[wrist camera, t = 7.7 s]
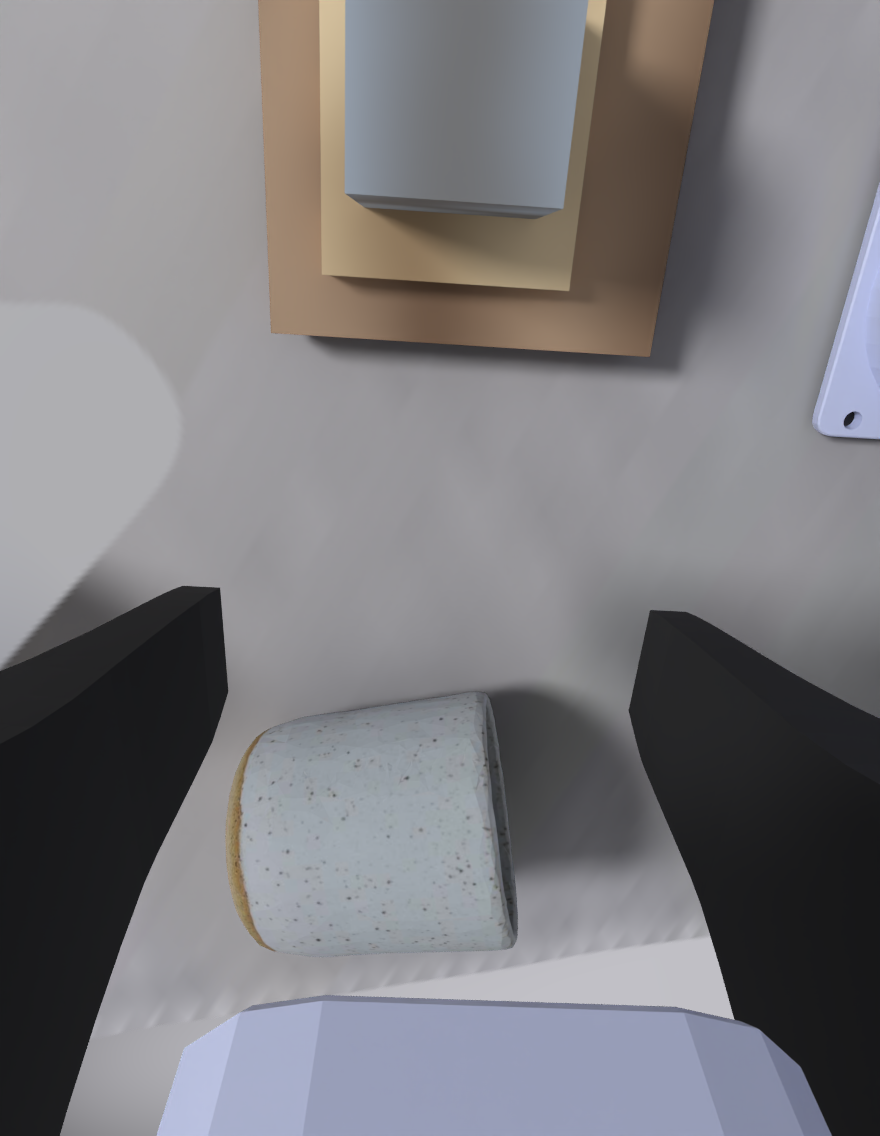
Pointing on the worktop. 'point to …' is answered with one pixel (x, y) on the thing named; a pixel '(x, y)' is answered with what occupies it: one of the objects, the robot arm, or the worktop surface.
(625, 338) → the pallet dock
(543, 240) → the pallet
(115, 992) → the worktop surface
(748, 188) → the worktop surface
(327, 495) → the worktop surface
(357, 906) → the ceramic mug
